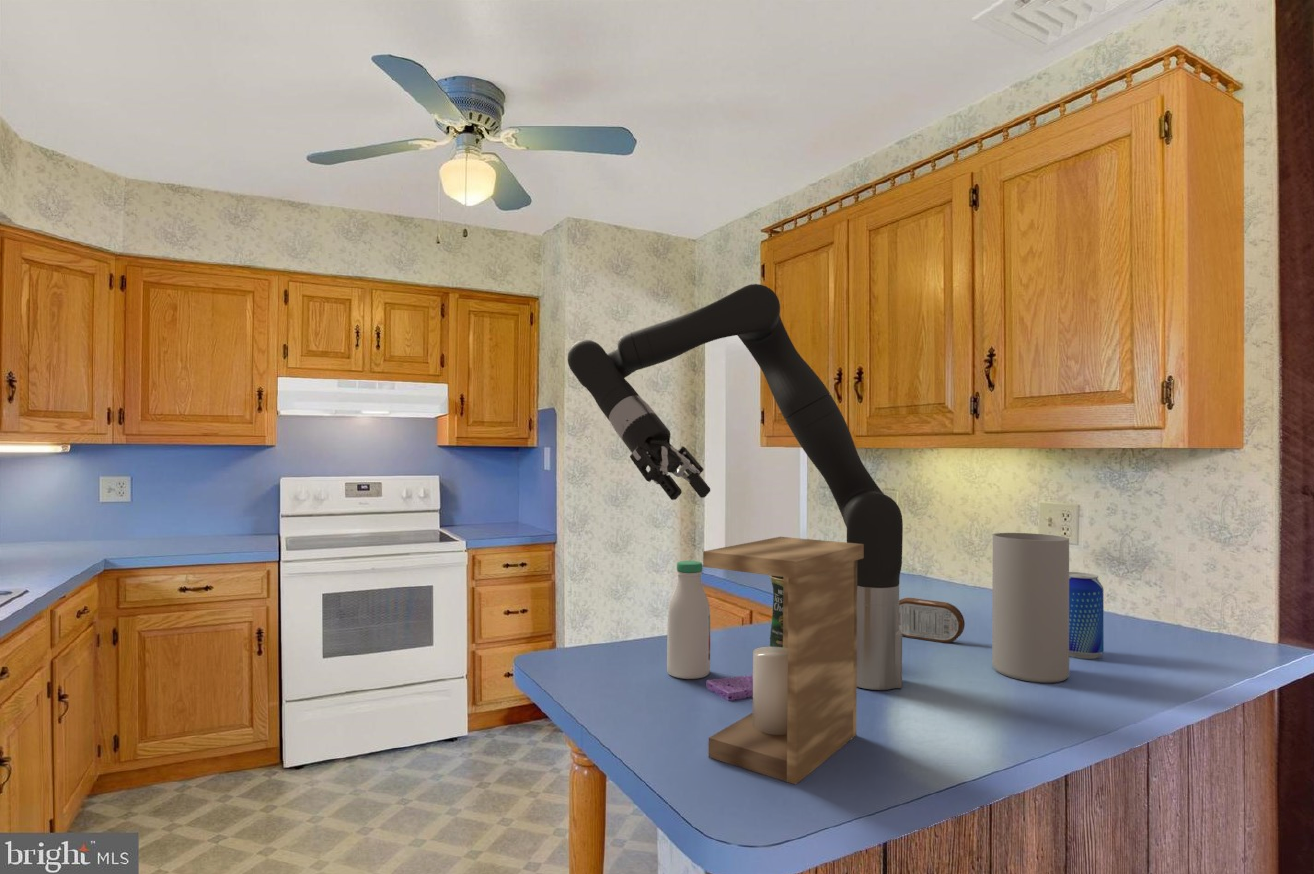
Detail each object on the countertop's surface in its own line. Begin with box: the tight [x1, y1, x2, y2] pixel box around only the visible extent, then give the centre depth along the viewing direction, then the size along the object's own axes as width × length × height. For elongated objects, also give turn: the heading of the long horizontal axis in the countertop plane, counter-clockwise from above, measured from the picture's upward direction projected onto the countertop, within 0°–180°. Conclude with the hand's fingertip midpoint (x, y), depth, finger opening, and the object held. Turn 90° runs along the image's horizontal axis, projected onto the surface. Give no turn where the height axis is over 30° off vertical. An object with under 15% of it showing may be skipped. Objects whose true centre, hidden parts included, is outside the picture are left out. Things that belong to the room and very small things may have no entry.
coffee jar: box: [769, 575, 783, 648], centre depth 144 cm, size 10×8×19 cm
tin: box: [899, 597, 965, 644], centre depth 155 cm, size 15×3×8 cm, turn 58°
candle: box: [752, 646, 788, 735], centre depth 98 cm, size 6×6×10 cm
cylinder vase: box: [991, 532, 1070, 684], centre depth 132 cm, size 12×12×25 cm
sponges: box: [705, 673, 753, 701], centre depth 121 cm, size 7×13×2 cm, turn 116°
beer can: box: [1069, 571, 1105, 660], centre depth 145 cm, size 8×8×16 cm
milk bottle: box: [666, 560, 711, 680], centre depth 130 cm, size 8×8×20 cm
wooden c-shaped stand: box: [702, 536, 864, 785], centre depth 98 cm, size 13×22×27 cm, turn 143°
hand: (692, 495), depth 119 cm, fingers open, 8 cm apart
